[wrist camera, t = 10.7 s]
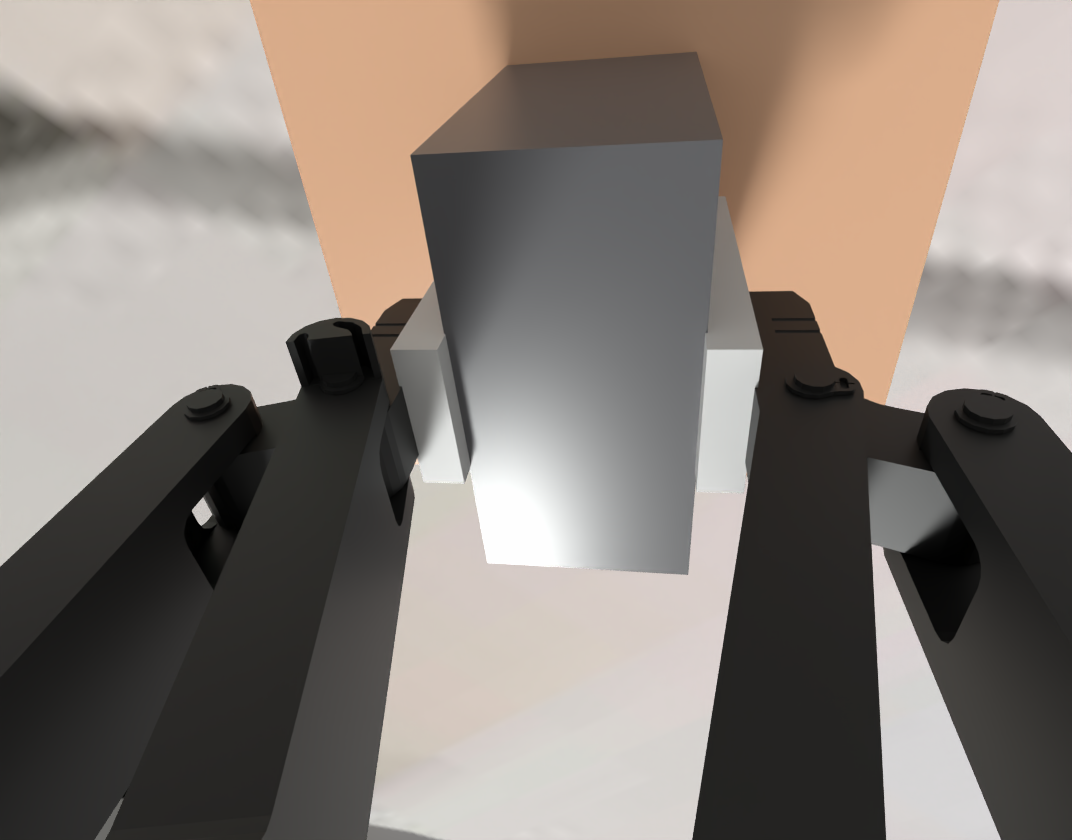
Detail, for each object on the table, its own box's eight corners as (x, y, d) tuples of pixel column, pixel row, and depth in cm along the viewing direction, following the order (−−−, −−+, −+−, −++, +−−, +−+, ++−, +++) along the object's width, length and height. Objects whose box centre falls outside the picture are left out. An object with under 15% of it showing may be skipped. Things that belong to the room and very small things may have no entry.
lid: (393, 444, 23) (291, 644, 16) (242, -111, 14) (-108, -141, 8) (855, 457, 20) (946, 700, 14) (1033, -211, 11) (1508, -383, 5)
